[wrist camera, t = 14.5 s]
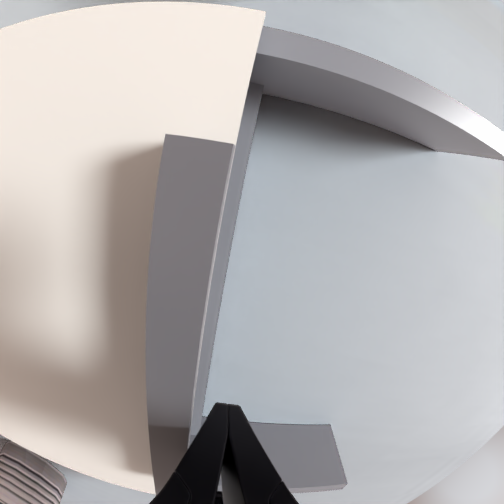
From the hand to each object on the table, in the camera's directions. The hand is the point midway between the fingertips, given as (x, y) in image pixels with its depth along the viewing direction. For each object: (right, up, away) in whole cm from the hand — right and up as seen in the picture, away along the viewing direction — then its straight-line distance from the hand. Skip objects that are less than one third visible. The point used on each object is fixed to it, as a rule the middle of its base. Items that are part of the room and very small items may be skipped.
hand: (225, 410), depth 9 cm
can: (-32, -26, +17) cm, 44 cm away
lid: (-8, +2, +1) cm, 8 cm away
